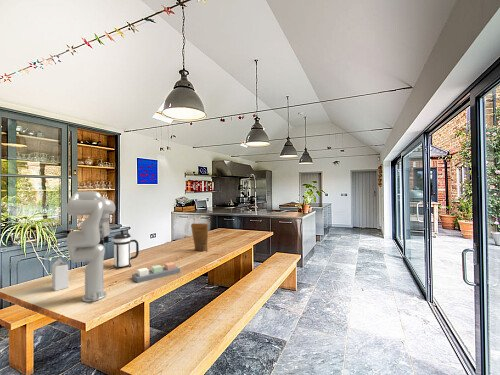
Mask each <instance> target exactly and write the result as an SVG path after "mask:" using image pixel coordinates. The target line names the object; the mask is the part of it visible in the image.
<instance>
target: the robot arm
mask: <svg viewBox="0 0 500 375" xmlns="http://www.w3.org/2000/svg"><path fill="white" fill-rule="evenodd" d="M65 209H66V213H67V214H68V215H70V216H73V217H74V216H87V217H85V219H84V220H83V221H82V222H81V224H80V229H79V230H73V231H70V232H69V233H68V234H67V237H66V246H67V251H68V254H69V255H68V256H69V259H70V261H71V262H72V263H81V262H89V263H88V264H87V265H86V266H85V268H84V295H82V297H81V300H82V302H85V303H89V302H96V301H99V300H103V299H104V298H106V296H107V293H108V292H107V291H105V290H104V282H105V281H104V260H105V252H106V248H105V246H104V244H109V241H110V240H109V237H110V236H109V235H110V234H111V231H110V230H111V229H110V215H111V214H114V213H115V212H116V205H115V203H114V200H111V199H107V198H104V197H103V196H102V195H101V193H100V192H98V191H96V190H95V191H94V190H86V191H84V190H83V191H76V192H75V193H73V194H72V196H71V197H70V198H69V199H68V202H67V203H66V208H65Z"/></svg>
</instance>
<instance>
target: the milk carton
mask: <svg viewBox="0 0 500 375" xmlns="http://www.w3.org/2000/svg"><path fill="white" fill-rule="evenodd" d="M51 288H52V289H53V290H54V291H55V292H56V291H61V290H65V289H69V264H67V263H66V262H64V261H63V260H62V259H61V258H59V257H58V258H57V260H56V261H55V262H53V264H51Z"/></svg>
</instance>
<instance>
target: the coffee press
mask: <svg viewBox="0 0 500 375" xmlns="http://www.w3.org/2000/svg"><path fill="white" fill-rule="evenodd" d="M131 237H132V236H131V234H130V233H129V232H124V230H123V229H122V230H120V231H119V232H118V233H115V234H114V236H112V239H111V242H113V267H115V269H116V270H119V269H120V267H126V266H127V267H129V268H131V267H132V264H131V260H134V259H136V258H138V256H139V254H140V253H139V252H140V249H139V242H138V240H136V239H131ZM131 243H135V251H136V252H135V255H134V256H131Z"/></svg>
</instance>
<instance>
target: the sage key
mask: <svg viewBox="0 0 500 375" xmlns="http://www.w3.org/2000/svg"><path fill="white" fill-rule="evenodd" d="M162 267H163V266H162V265H160V264H157V265H152V266H150V270H151V272H153V273H158V272H162Z"/></svg>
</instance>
